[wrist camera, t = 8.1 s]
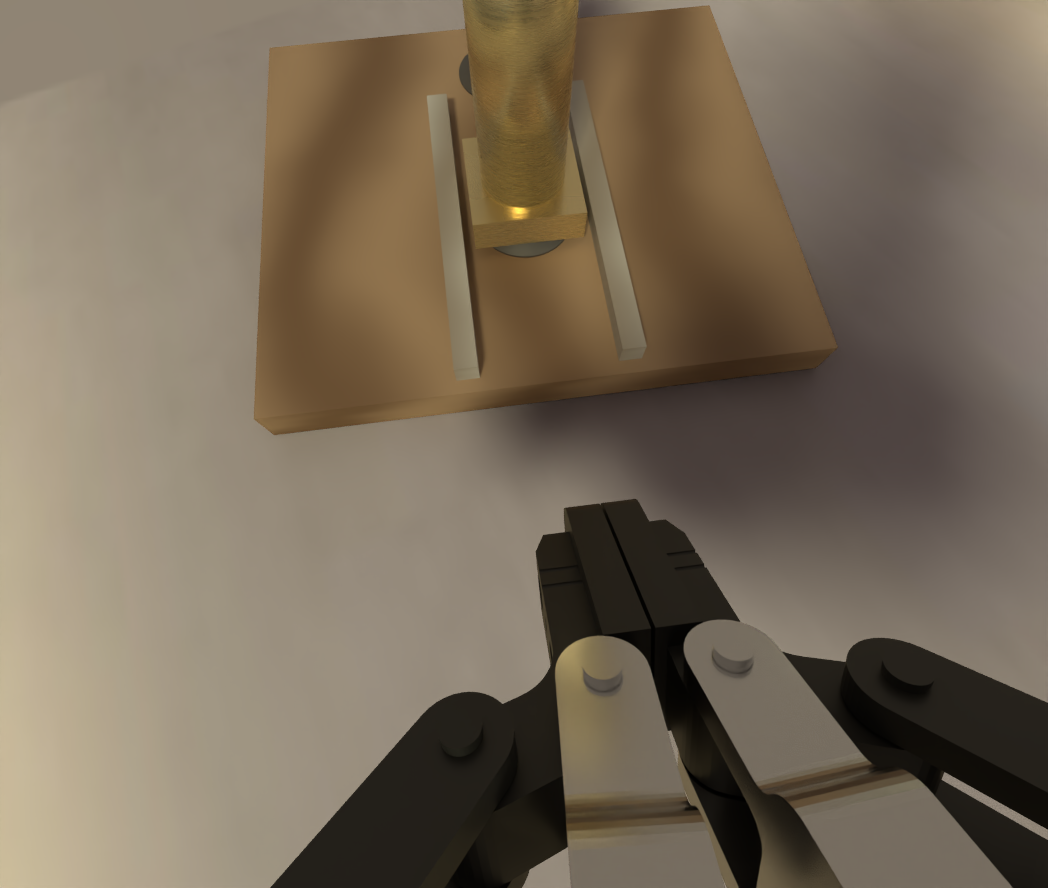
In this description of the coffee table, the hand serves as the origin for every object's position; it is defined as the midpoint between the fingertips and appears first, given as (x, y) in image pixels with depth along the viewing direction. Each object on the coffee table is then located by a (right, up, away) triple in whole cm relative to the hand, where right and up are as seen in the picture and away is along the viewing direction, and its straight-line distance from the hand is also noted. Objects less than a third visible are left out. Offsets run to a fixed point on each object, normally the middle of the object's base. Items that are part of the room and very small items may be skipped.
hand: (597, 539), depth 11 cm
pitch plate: (-2, +12, +11) cm, 17 cm away
